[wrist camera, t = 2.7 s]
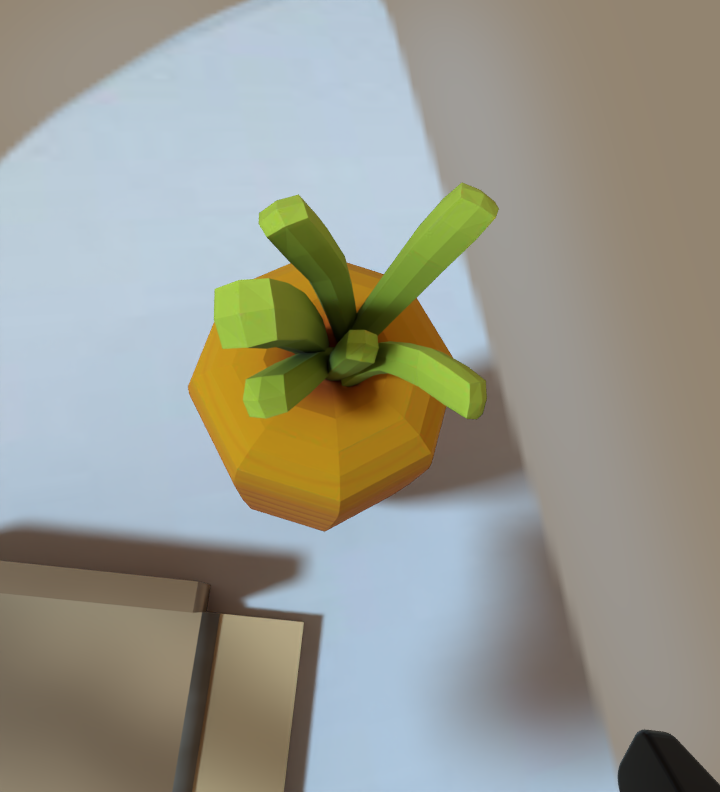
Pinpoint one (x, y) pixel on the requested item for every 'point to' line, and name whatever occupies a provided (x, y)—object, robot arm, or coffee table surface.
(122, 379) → the coffee table surface
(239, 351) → the carrot
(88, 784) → the wooden tray
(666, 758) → the robot arm
